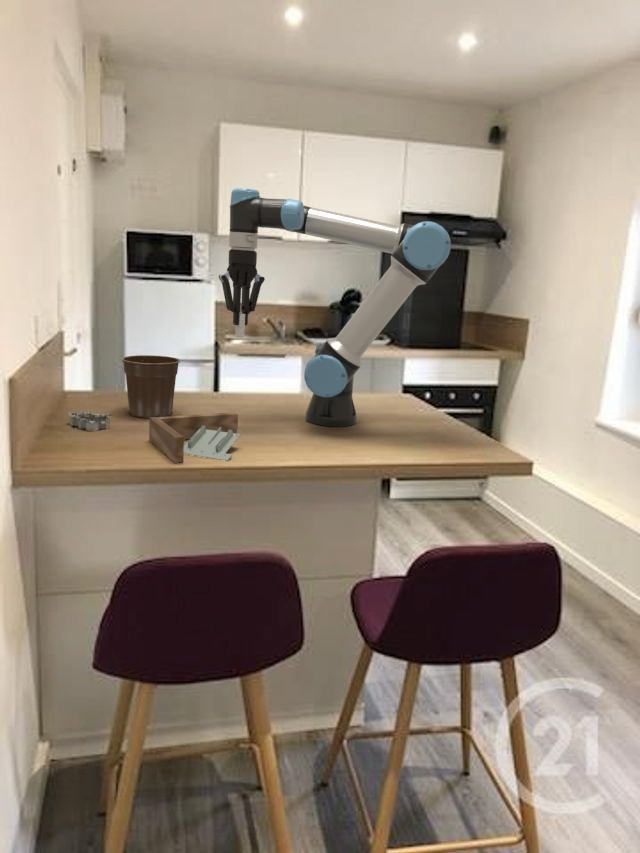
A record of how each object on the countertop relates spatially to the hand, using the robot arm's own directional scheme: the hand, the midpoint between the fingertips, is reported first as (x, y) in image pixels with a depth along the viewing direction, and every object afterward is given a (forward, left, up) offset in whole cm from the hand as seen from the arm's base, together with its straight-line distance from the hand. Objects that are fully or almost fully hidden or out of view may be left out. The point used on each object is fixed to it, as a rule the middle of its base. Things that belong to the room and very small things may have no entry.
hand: (239, 336), depth 191 cm
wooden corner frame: (+18, +22, -24) cm, 37 cm away
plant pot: (+20, -16, -25) cm, 36 cm away
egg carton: (+39, -7, -25) cm, 47 cm away
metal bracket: (+18, +24, -25) cm, 39 cm away
